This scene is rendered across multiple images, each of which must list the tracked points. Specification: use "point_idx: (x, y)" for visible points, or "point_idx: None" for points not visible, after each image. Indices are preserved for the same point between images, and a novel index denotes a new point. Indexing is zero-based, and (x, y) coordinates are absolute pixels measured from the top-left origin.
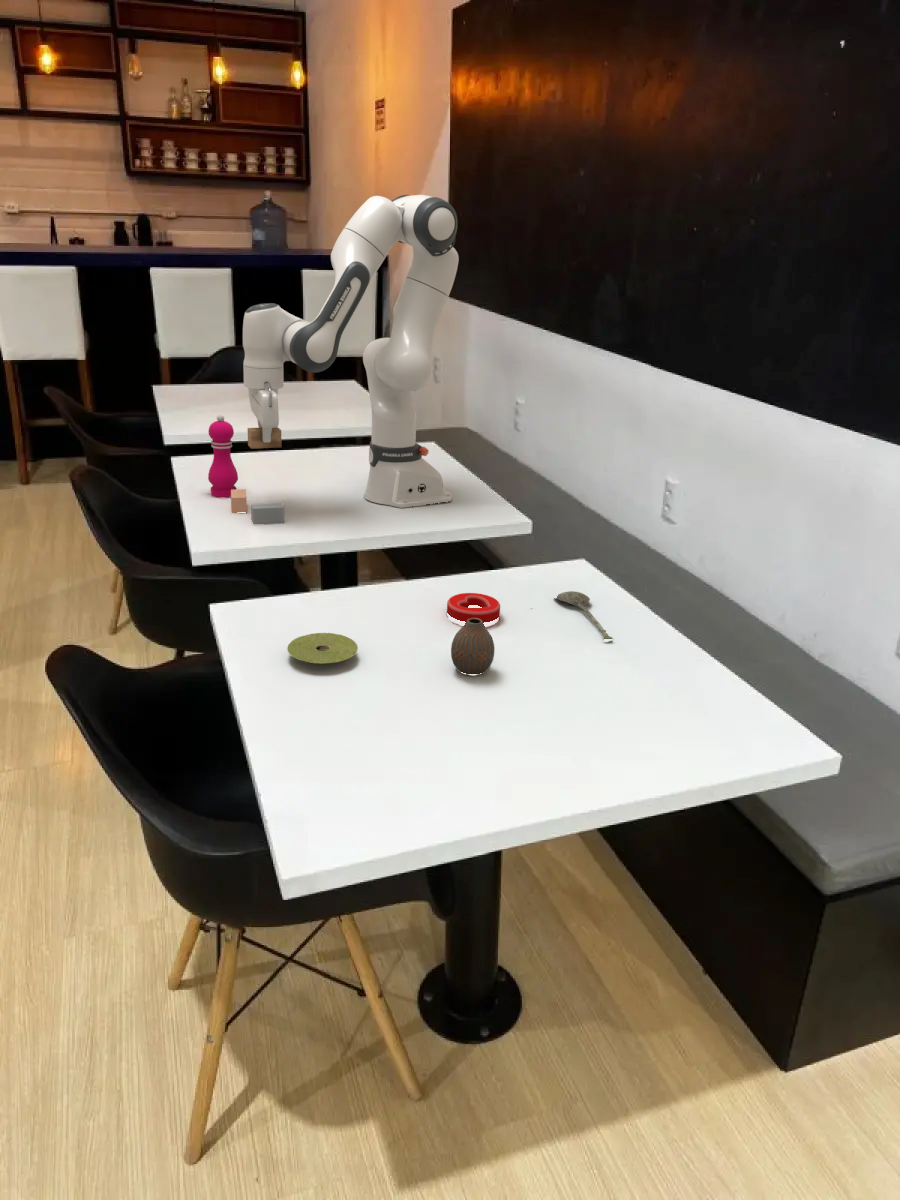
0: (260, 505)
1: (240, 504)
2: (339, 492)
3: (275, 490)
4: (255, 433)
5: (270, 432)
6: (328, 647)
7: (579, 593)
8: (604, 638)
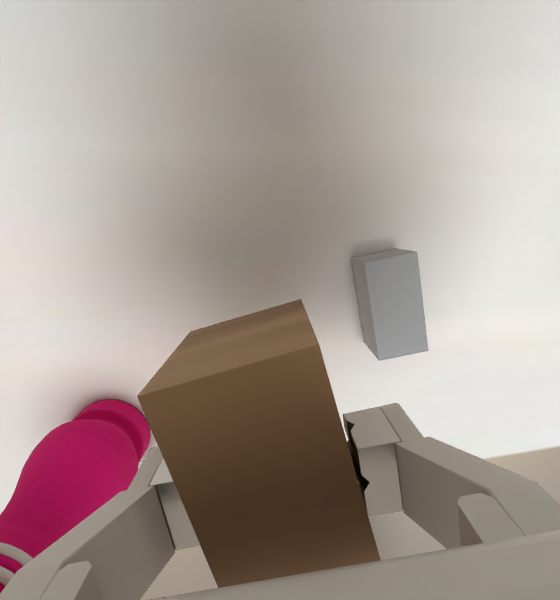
0: (392, 330)
1: None
2: (23, 44)
3: (43, 286)
4: None
5: (463, 457)
6: None
7: None
8: None
